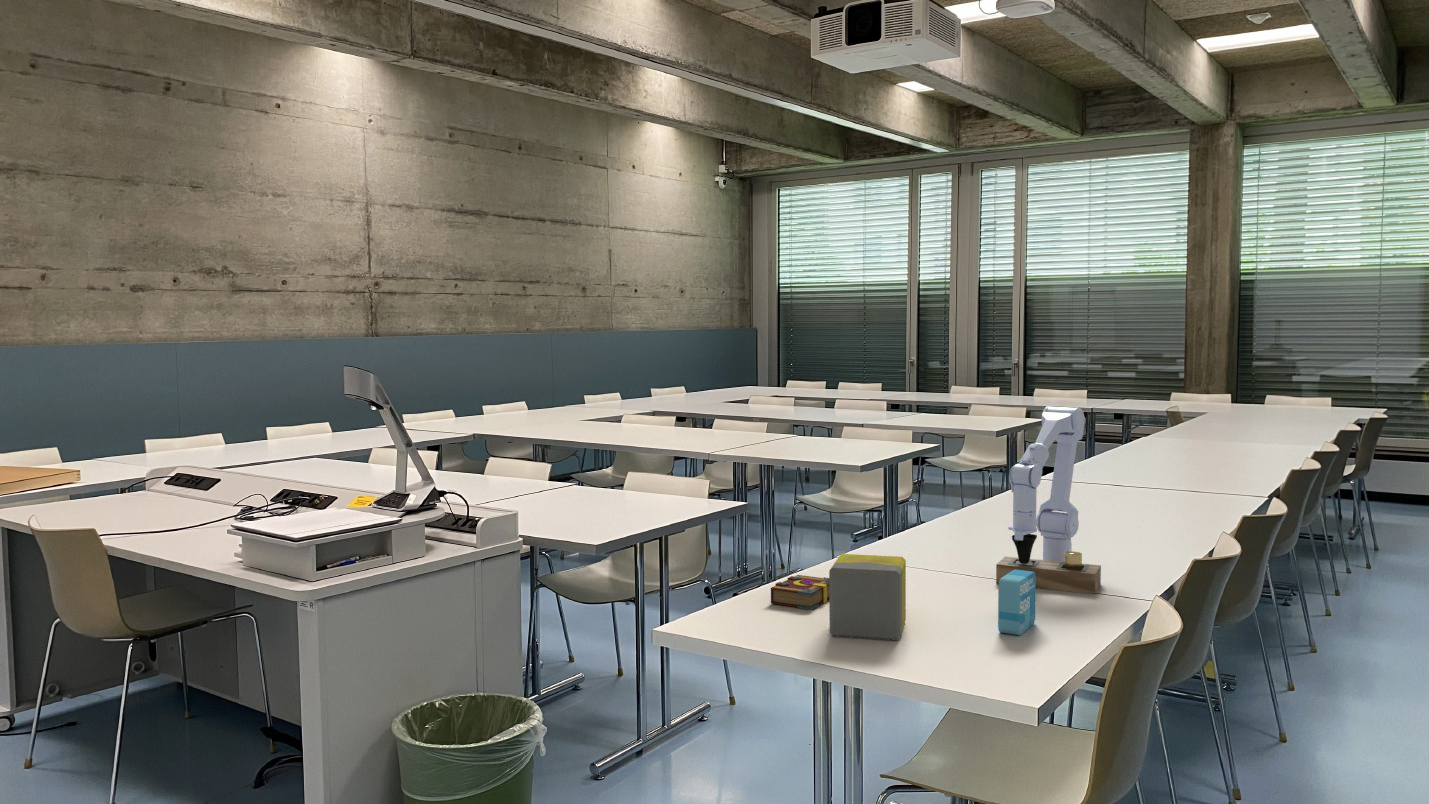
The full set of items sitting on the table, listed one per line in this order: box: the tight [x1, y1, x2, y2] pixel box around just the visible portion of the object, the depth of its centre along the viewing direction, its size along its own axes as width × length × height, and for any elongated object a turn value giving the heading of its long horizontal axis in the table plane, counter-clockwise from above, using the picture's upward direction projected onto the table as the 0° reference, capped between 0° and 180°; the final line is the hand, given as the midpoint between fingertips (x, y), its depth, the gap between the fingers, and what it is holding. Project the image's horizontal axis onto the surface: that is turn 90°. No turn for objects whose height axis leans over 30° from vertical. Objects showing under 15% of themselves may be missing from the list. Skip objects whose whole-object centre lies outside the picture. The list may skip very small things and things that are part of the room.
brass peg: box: [1064, 551, 1083, 570], centre depth 255 cm, size 4×4×4 cm
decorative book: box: [770, 574, 829, 611], centre depth 247 cm, size 11×16×5 cm
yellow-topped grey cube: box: [828, 553, 907, 642], centre depth 226 cm, size 15×24×15 cm, turn 164°
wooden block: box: [995, 556, 1102, 595], centre depth 258 cm, size 10×24×5 cm, turn 61°
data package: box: [997, 570, 1037, 636], centre depth 220 cm, size 12×4×12 cm, turn 146°
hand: (1024, 562), depth 261 cm, fingers closed, pressing on steel peg
